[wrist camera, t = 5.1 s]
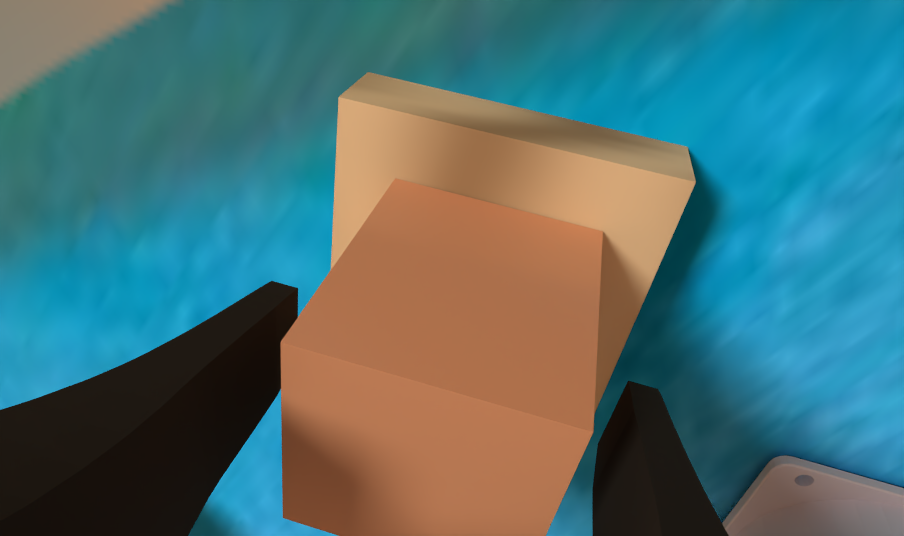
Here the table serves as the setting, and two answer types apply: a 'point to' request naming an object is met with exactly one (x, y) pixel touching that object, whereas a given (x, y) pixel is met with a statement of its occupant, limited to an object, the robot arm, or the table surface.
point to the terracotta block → (442, 372)
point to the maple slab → (518, 180)
